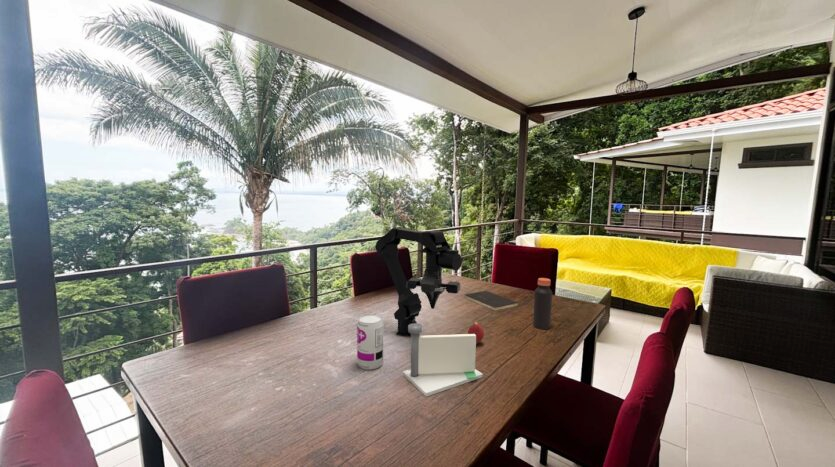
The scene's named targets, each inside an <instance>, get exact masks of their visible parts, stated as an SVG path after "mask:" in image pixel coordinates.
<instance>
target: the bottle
mask: <svg viewBox="0 0 835 467" xmlns="http://www.w3.org/2000/svg"><path fill="white" fill-rule="evenodd" d="M551 283H552V282H551V279H550V278H547V277H539V278H538V279H537V286H538V287H536V289H535V290H534V298H533V300H534V302H533V315H532V316H533V319H532V325H533V327H534V328H536V329H538V330H548V329H550V328H551V325H552V324H551V323H552V322H551V321H552V307H553V291H552V290H551V288H550V287H551Z"/></svg>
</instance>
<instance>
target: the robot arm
mask: <svg viewBox="0 0 835 467" xmlns="http://www.w3.org/2000/svg"><path fill="white" fill-rule="evenodd" d="M402 240H404V241H410V242H416V243H419V244H420V246H422V247H424V248H422V249H421V251H420V252H421V253H424V254H425V269H424V274H423V276H422V278H421V277H420V278H419V277H411V278H410V279H409V280H407V279H406V276H405V273H404V271H403V269H402V265H401V263H400V261H399V258H398V255H399V247H398V246H399V245H400V244H401V241H402ZM374 248H375V250H376V253H377V254H378V256H379V258H380V259H382V260H383V261H384V262H385V263H386V267H387V268H388V271H389V274H390V277H391V278H392V282H393V283H394V286H395V287H394V288H395V289H396V292H397V296H398V299H397V300H398V301H397V305H398V308H397V310H396V311H395V312H394V313H393V316H394V317H393V318H394V319H395V320H397V331H396V333H395V335H397V336H404V337H410V338H411V333H409V332H408V325H409V324H413V323H417V324H418V322H417V321H416V317H419V315H420V312H421V311H422V301H421V299H420V296H419V293H418V292H412V291H411V290H415V289H416V288H418V287H420V290H421V291H420V292H422V293H424V294H425V295H426V297H427V299H428V303H429V305H430V307H431V308H430V309H433V310H434V309H435V308H436V305H437V302H438V300H439V297H440V295H441V294H443V293H444V292H445V291H446V292H447V293H448V294H454V295H455V294H458V293H459V292H460V291H461V283H460V281H454V280H453V281H452V280H450V281H449V282H447V283H443V278H442V277H443V276H442V271H443V269H446V270H451V271H456V272H457V271H458V270H460V268H461V267H462V265H463V259H462V256H461V254H460V252H459V250H458V249H452V248H451V246H450V244H449V241H448V240H447V239H446V237H445V234H444V231H443V230H440V229H439V230H430V231H429V230H428V231H426V230H425V231H421V230H416V229H410V228H404V227H391V229H390V230H389V231H388V232H386V233H385V234H384V235H382V236H381V237H380V238H379V239H378V240H376V243H375V247H374Z"/></svg>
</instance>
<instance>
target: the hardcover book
mask: <svg viewBox="0 0 835 467" xmlns="http://www.w3.org/2000/svg"><path fill="white" fill-rule="evenodd" d="M463 295H464V299H466V300H469V301H472V302H474V303H475V304H479V305H480V306H483V307H485V308H488V309H490V310H492V311H500V310H503V309H509V308H513V307H517V306H518V307H519V306H520V303H519V302H518V301H516V300H513V299H510V298H507V297H505V296H502V295H499V294H496V293H493V292H491V291H489V290H482V291H476V292H472V293H466V294H465V293H464V294H463Z"/></svg>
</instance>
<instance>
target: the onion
mask: <svg viewBox="0 0 835 467" xmlns="http://www.w3.org/2000/svg"><path fill="white" fill-rule="evenodd" d="M467 334H475V335H476V345H477V344H478V343H480V342H481V341H483V339H484V337H485V332H484V330H483V328H482V326H480V325H479V323H478V322H477V321H475V322H474V324H473V325H471V326H470V327H469V328H468V330H467Z"/></svg>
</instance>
